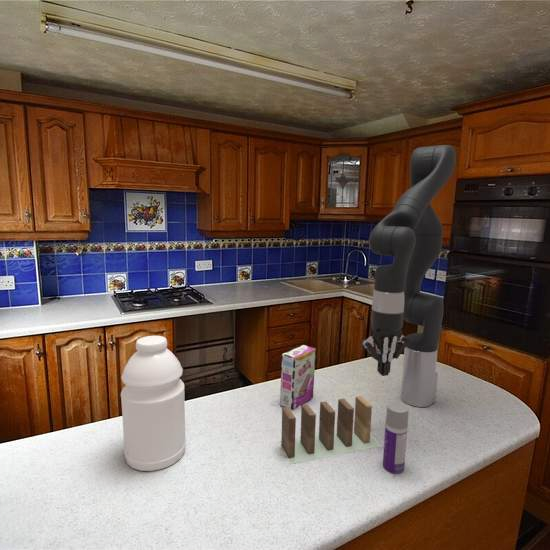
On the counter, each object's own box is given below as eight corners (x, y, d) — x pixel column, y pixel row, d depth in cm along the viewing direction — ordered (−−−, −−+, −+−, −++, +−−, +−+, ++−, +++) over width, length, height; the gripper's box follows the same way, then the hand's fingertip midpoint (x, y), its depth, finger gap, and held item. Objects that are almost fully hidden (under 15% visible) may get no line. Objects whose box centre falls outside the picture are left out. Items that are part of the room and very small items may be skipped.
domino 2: (306, 441, 93) (307, 404, 92) (314, 453, 89) (315, 414, 87) (300, 442, 93) (301, 404, 91) (308, 454, 88) (309, 415, 86)
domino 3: (324, 437, 95) (326, 401, 93) (333, 449, 90) (335, 411, 88) (318, 438, 94) (320, 402, 93) (327, 450, 90) (329, 412, 88)
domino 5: (359, 431, 98) (361, 395, 96) (369, 442, 93) (372, 405, 91) (353, 432, 97) (355, 396, 96) (364, 443, 93) (366, 406, 91)
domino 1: (287, 444, 92) (288, 406, 90) (294, 457, 87) (295, 417, 85) (281, 445, 91) (282, 407, 90) (288, 458, 87) (289, 418, 85)
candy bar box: (293, 412, 107) (294, 358, 105) (279, 406, 111) (280, 353, 108) (314, 398, 116) (316, 347, 113) (301, 392, 119) (302, 343, 116)
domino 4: (342, 434, 96) (344, 398, 95) (351, 446, 92) (353, 408, 90) (336, 435, 96) (338, 399, 94) (346, 447, 91) (348, 409, 90)
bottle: (197, 442, 93) (195, 334, 88) (162, 479, 80) (158, 355, 75) (150, 430, 97) (146, 327, 93) (110, 463, 85) (103, 345, 80)
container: (378, 464, 86) (382, 403, 83) (394, 459, 87) (399, 400, 85) (391, 477, 81) (396, 414, 79) (408, 473, 83) (413, 410, 81)
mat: (362, 427, 100) (362, 425, 100) (381, 447, 92) (381, 445, 92) (277, 442, 93) (278, 441, 93) (290, 465, 85) (290, 464, 85)
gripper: (372, 314, 86) (368, 384, 89) (420, 310, 90) (415, 377, 93) (356, 306, 93) (352, 371, 96) (401, 302, 97) (396, 365, 100)
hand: (383, 374), depth 94 cm, fingers closed
